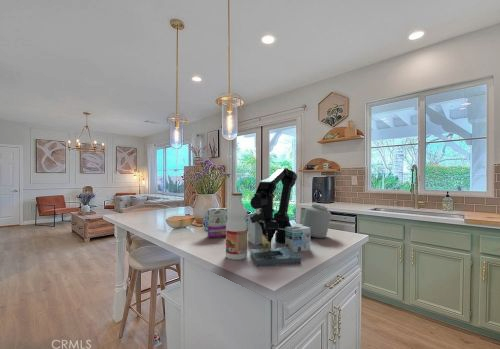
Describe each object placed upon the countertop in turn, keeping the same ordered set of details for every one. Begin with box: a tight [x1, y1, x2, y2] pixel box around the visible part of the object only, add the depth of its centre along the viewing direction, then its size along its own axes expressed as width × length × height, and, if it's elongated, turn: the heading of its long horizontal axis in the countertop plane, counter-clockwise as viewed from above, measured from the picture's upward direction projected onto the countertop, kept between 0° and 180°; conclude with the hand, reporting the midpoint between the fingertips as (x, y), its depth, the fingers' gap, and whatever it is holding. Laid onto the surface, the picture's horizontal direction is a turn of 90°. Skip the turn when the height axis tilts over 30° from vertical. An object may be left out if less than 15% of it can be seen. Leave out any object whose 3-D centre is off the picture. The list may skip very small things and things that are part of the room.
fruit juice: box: [225, 192, 248, 261], centre depth 104 cm, size 9×9×28 cm
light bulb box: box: [284, 224, 311, 253], centre depth 115 cm, size 11×7×11 cm, turn 117°
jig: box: [250, 246, 302, 268], centre depth 101 cm, size 18×14×2 cm
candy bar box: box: [207, 207, 228, 239], centre depth 138 cm, size 11×5×16 cm, turn 104°
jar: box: [301, 194, 332, 239], centre depth 139 cm, size 19×15×25 cm
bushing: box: [261, 234, 272, 249], centre depth 114 cm, size 4×4×7 cm
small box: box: [247, 216, 263, 245], centre depth 127 cm, size 8×6×13 cm
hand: (266, 239), depth 114 cm, fingers open, 9 cm apart
